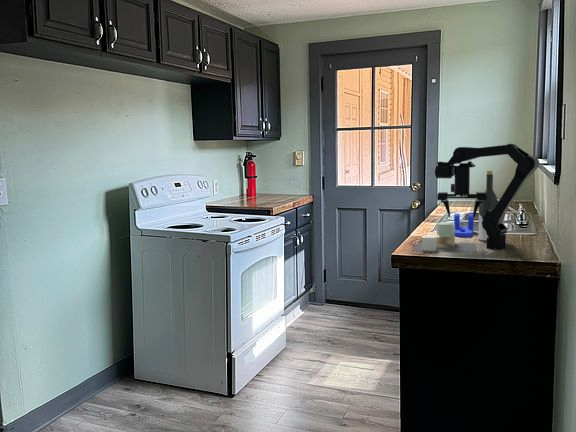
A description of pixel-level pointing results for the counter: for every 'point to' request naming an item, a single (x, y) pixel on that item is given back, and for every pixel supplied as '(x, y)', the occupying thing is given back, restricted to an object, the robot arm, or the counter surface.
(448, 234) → the sage cube
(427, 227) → the counter surface
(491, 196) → the wine bottle
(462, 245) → the mat
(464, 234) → the bracket
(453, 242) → the oak base block
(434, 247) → the cream cube
